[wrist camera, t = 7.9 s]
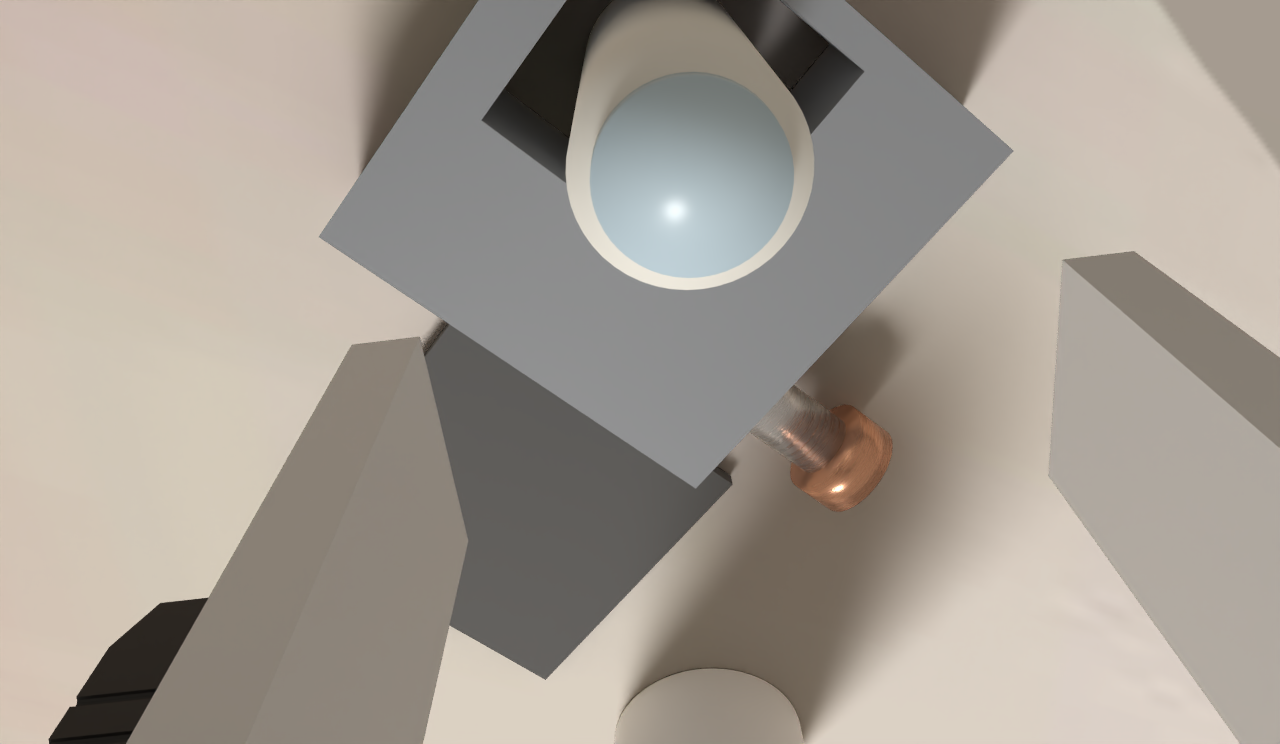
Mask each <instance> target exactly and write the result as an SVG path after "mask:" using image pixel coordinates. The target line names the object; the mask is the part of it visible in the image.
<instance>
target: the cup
mask: <svg viewBox="0 0 1280 744" xmlns="http://www.w3.org/2000/svg"><path fill="white" fill-rule="evenodd" d="M614 744H804V740H803V735H802V731H801V726H800V721H799V718H798V716H797V713H796V711H795V709H794V707H793V706H792V704H791V703H790V701H789V700H788V699H787V698H786V697H785V696H784V695H783V694H782V693H781V692H780V691H779V690H778V689H777V688H775V687H774V686H773V685H771V684H769V683H768V682H766V681H764V680H762V679H760V678H758V677H755V676H753V675H750V674H747V673H743V672H740V671H735V670H728V669H715V668H710V669H696V670H690V671H685V672H681V673H677V674H674V675H671V676H668V677H666V678H663V679H661V680H659V681H657V682H655V683H653V684H652V685H650V686H648V687H647V688H645V689H644V690H643V691H641V692H640V693H639V694H638V695H637V696H636V697H635V698H634V699H633V700H632V701H631V702H630V703H629V704H628V705H627V707H626V708H625V710H624V711H623V713H622V714H621V716H620V718H619V721H618V724H617V726H616V731H615V738H614Z"/></svg>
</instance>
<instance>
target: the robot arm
mask: <svg viewBox="0 0 1280 744" xmlns="http://www.w3.org/2000/svg"><path fill="white" fill-rule="evenodd" d="M1048 476H1049V477H1050V479H1051V480H1052V482H1053V483H1054V484H1055V486H1056V487H1057V489H1058V490H1059V491H1060V493H1061V494H1062V496H1063V497H1064V498H1065V500H1066V501H1067V503H1068V504H1069V505H1070V507H1071V508H1072V510H1073V511H1074V512H1075V514H1076V515H1077V517H1078V518H1079V519H1080V521H1081V522H1082V524H1083V525H1084V526H1085V528H1086V529H1087V531H1088V532H1089V533H1090V535H1091V536H1092V538H1093V539H1094V540H1095V542H1096V543H1097V545H1098V546H1099V547H1100V549H1101V550H1102V552H1103V553H1104V554H1105V556H1106V557H1107V558H1108V560H1109V561H1110V563H1111V564H1112V565H1113V567H1114V568H1115V570H1116V571H1117V572H1118V574H1119V575H1120V577H1121V578H1122V579H1123V581H1124V582H1125V584H1126V585H1127V586H1128V588H1129V589H1130V591H1131V592H1132V593H1133V595H1134V596H1135V598H1136V599H1137V600H1138V602H1139V603H1140V605H1141V606H1142V607H1143V609H1144V610H1145V612H1146V613H1147V614H1148V616H1149V617H1150V619H1151V620H1152V621H1153V623H1154V624H1155V626H1156V627H1157V628H1158V630H1159V631H1160V633H1161V634H1162V635H1163V637H1164V638H1165V640H1166V641H1167V642H1168V644H1169V645H1170V647H1171V648H1172V649H1173V651H1174V652H1175V654H1176V655H1177V656H1178V658H1179V659H1180V661H1181V662H1182V663H1183V665H1184V666H1185V668H1186V669H1187V670H1188V672H1189V673H1190V675H1191V676H1192V677H1193V679H1194V680H1195V681H1196V683H1197V684H1198V686H1199V687H1200V688H1201V690H1202V691H1203V693H1204V694H1205V695H1206V697H1207V698H1208V700H1209V701H1210V702H1211V704H1212V705H1213V707H1214V708H1215V709H1216V711H1217V712H1218V714H1219V715H1220V716H1221V718H1222V719H1223V721H1224V722H1225V723H1226V725H1227V726H1228V728H1229V729H1230V730H1231V732H1232V733H1233V735H1234V736H1235V737H1236V739H1237V740H1238V742H1239V743H1240V744H1280V358H1279V357H1278V356H1277V355H1275V354H1274V353H1273V352H1271V351H1270V350H1269V349H1267V348H1266V347H1264V346H1263V345H1262V344H1260V343H1259V342H1258V341H1256V340H1255V339H1253V338H1252V337H1251V336H1249V335H1248V334H1247V333H1245V332H1244V331H1242V330H1241V329H1240V328H1238V327H1237V326H1236V325H1234V324H1233V323H1232V322H1230V321H1229V320H1227V319H1226V318H1225V317H1223V316H1222V315H1221V314H1219V313H1218V312H1216V311H1215V310H1214V309H1212V308H1211V307H1210V306H1208V305H1207V304H1206V303H1204V302H1203V301H1201V300H1200V299H1199V298H1197V297H1196V296H1195V295H1193V294H1192V293H1190V292H1189V291H1188V290H1186V289H1185V288H1184V287H1182V286H1181V285H1180V284H1178V283H1177V282H1175V281H1174V280H1173V279H1171V278H1170V277H1169V276H1167V275H1166V274H1164V273H1163V272H1162V271H1160V270H1159V269H1158V268H1156V267H1155V266H1154V265H1152V264H1151V263H1149V262H1148V261H1147V260H1145V259H1144V258H1143V257H1141V256H1140V255H1138V254H1137V253H1136V252H1134V251H1132V252H1124V253H1115V254H1107V255H1099V256H1090V257H1082V258H1073V259H1065V260H1062V274H1061V289H1060V305H1059V320H1058V336H1057V351H1056V367H1055V382H1054V398H1053V413H1052V428H1051V444H1050V459H1049V475H1048ZM467 544H468V538H467V534H466V529H465V525H464V521H463V517H462V513H461V508H460V504H459V500H458V496H457V491H456V487H455V483H454V479H453V475H452V470H451V466H450V462H449V458H448V453H447V449H446V445H445V441H444V437H443V432H442V428H441V424H440V420H439V415H438V411H437V407H436V403H435V399H434V394H433V390H432V386H431V382H430V378H429V373H428V369H427V365H426V361H425V356H424V352H423V348H422V344H421V340H420V337H413V338H405V339H396V340H388V341H380V342H371V343H363V344H355V345H351V347H350V349H349V351H348V352H347V354H346V356H345V358H344V359H343V361H342V363H341V365H340V366H339V368H338V370H337V372H336V374H335V375H334V377H333V379H332V381H331V382H330V384H329V386H328V388H327V389H326V391H325V393H324V395H323V396H322V398H321V400H320V402H319V404H318V405H317V407H316V409H315V411H314V412H313V414H312V416H311V418H310V419H309V421H308V423H307V425H306V427H305V428H304V430H303V432H302V434H301V435H300V437H299V439H298V441H297V442H296V444H295V446H294V448H293V450H292V451H291V453H290V455H289V457H288V458H287V460H286V462H285V464H284V465H283V467H282V469H281V471H280V472H279V474H278V476H277V478H276V480H275V481H274V483H273V485H272V487H271V488H270V490H269V492H268V494H267V495H266V497H265V499H264V501H263V503H262V504H261V506H260V508H259V510H258V511H257V513H256V515H255V517H254V518H253V520H252V522H251V524H250V526H249V527H248V529H247V531H246V533H245V534H244V536H243V538H242V540H241V541H240V543H239V545H238V547H237V548H236V550H235V552H234V554H233V556H232V557H231V559H230V561H229V563H228V564H227V566H226V568H225V570H224V571H223V573H222V575H221V577H220V579H219V580H218V582H217V584H216V586H215V587H214V589H213V591H212V593H211V594H210V596H209V598H202V599H193V600H184V601H175V602H166V603H160V604H159V605H158V606H156V607H155V608H154V609H153V610H152V611H151V612H149V613H148V614H147V615H146V616H145V617H144V618H143V619H141V620H140V621H139V622H138V623H137V624H136V625H134V626H133V627H132V628H131V629H130V630H129V631H127V632H126V633H125V634H124V635H123V636H122V637H121V638H119V639H118V640H117V641H116V642H115V643H114V644H112V645H111V646H110V647H109V648H108V650H107V651H106V653H105V654H104V656H103V657H102V659H101V660H100V662H99V664H98V665H97V667H96V668H95V670H94V671H93V673H92V674H91V676H90V677H89V679H88V680H87V682H86V683H85V685H84V686H83V688H82V689H81V691H80V692H79V694H78V695H77V705H76V707H70V708H69V709H68V711H67V712H66V714H65V715H64V717H63V718H62V720H61V721H60V723H59V724H58V726H57V727H56V729H55V730H54V732H53V733H52V735H51V736H50V738H49V744H423V740H424V736H425V731H426V727H427V723H428V718H429V714H430V709H431V705H432V700H433V696H434V691H435V687H436V682H437V678H438V674H439V669H440V665H441V660H442V656H443V651H444V647H445V642H446V638H447V633H448V629H449V625H450V620H451V616H452V611H453V607H454V602H455V598H456V593H457V589H458V584H459V580H460V576H461V571H462V567H463V562H464V558H465V553H466V549H467Z"/></svg>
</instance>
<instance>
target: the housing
mask: <svg viewBox="0 0 1280 744" xmlns="http://www.w3.org/2000/svg"><path fill="white" fill-rule="evenodd" d="M780 1H781V2H783V3H784V4H785V5H786V6H787V7H788V8H789V9H791V10H792V11H793V12H794V13H795V14H796V15H797V16H799V17H800V18H801V19H802V20H803V21H804V22H805V23H807V24H808V25H809V26H810V27H811V28H812V29H814V30H815V31H816V32H817V33H818V34H819V35H820V36H822V37H823V38H824V39H825V40H826V41H827V42H828V43H830V44H829V46H828V47H827V48H826V49H825V50H824V52H823V53H822V54H821V55H820V56H819V58H818V59H817V60H816V61H815V62H814V64H813V65H812V66H811V67H810V69H809V70H808V71H807V72H806V73H805V75H804V76H803V77H802V78H801V79H800V81H799V82H798V83H797V84H796V85H795V87H794V88H793V89H792V90H791V91H790V93H791V94H792V95H793V97H794V98H795V100H796V102H797V103H798V105H799V107H800V109H801V110H802V112H803V115H804V117H805V120H806V122H807V124H808V127H809V131H810V135H811V139H812V143H813V152H814V178H813V184H812V191H811V194H810V197H809V201H808V204H807V207H806V209H805V212H804V214H803V216H802V219H801V221H800V222H799V224H798V226H797V228H796V229H795V231H794V233H793V234H792V235H791V237H790V238H789V239H788V241H787V242H786V243H785V245H784V246H783V247H782V248H781V249H780V250H779V251H778V252H777V253H776V254H775V255H774V256H773V257H772V258H771V259H769V260H768V261H767V262H766V263H764V264H763V265H762V266H761V267H759V268H758V269H756V270H754V271H753V272H751V273H749V274H748V275H746V276H744V277H741V278H739V279H737V280H735V281H733V282H730V283H726V284H723V285H720V286H717V287H711V288H706V289H697V290H677V289H668V288H662V287H657V286H654V285H650V284H647V283H644V282H641V281H639V280H637V279H635V278H633V277H630V276H628V275H627V274H625V273H623V272H622V271H620V270H619V269H617V268H615V267H614V266H613V265H612V264H610V263H609V262H608V261H607V260H606V259H604V258H603V257H602V256H601V255H600V254H599V253H598V252H597V250H596V249H595V248H594V247H593V246H592V245H591V243H590V242H589V241H588V239H587V238H586V236H585V235H584V234H583V232H582V230H581V228H580V226H579V224H578V222H577V221H576V218H575V216H574V213H573V210H572V208H571V205H570V201H569V196H568V192H567V184H566V156H567V150H568V145H569V138H568V137H567V136H565V135H564V134H563V133H561V132H560V131H559V130H557V129H556V128H555V127H553V126H552V125H551V124H549V123H548V122H547V121H546V120H544V119H543V118H542V117H540V116H539V115H538V114H536V113H535V112H534V111H532V110H531V109H530V108H528V107H527V106H526V105H524V104H523V103H522V102H521V101H519V100H518V99H517V98H515V97H514V96H513V95H511V94H510V93H509V92H507V91H506V90H505V89H504V88H505V86H506V85H507V83H508V82H509V80H510V79H511V78H512V76H513V75H514V73H515V72H516V71H517V69H518V68H519V66H520V65H521V64H522V62H523V61H524V59H525V58H526V57H527V55H528V54H529V52H530V51H531V49H532V48H533V47H534V45H535V44H536V42H537V41H538V40H539V38H540V37H541V35H542V34H543V33H544V31H545V30H546V28H547V27H548V26H549V24H550V23H551V21H552V20H553V18H554V17H555V16H556V14H557V13H558V11H559V10H560V9H561V7H562V6H563V4H564V3H565V2H566V0H478V2H477V3H476V5H475V6H474V8H473V9H472V11H471V12H470V14H469V15H468V17H467V18H466V19H465V21H464V22H463V24H462V25H461V27H460V28H459V30H458V31H457V33H456V34H455V36H454V37H453V39H452V40H451V42H450V43H449V45H448V46H447V48H446V49H445V51H444V52H443V54H442V55H441V57H440V58H439V59H438V61H437V62H436V64H435V65H434V67H433V68H432V70H431V71H430V73H429V74H428V76H427V77H426V79H425V80H424V82H423V83H422V85H421V86H420V88H419V89H418V91H417V92H416V94H415V95H414V97H413V98H412V99H411V101H410V102H409V104H408V105H407V107H406V108H405V110H404V111H403V113H402V114H401V116H400V117H399V119H398V120H397V122H396V123H395V125H394V126H393V128H392V129H391V131H390V132H389V134H388V135H387V136H386V138H385V139H384V141H383V142H382V144H381V145H380V147H379V148H378V150H377V151H376V153H375V154H374V156H373V157H372V159H371V160H370V162H369V163H368V165H367V166H366V168H365V169H364V171H363V172H362V174H361V175H360V176H359V178H358V179H357V181H356V182H355V184H354V185H353V187H352V188H351V190H350V191H349V193H348V194H347V196H346V197H345V199H344V200H343V202H342V203H341V205H340V206H339V208H338V209H337V211H336V212H335V214H334V215H333V216H332V218H331V219H330V221H329V222H328V224H327V225H326V227H325V228H324V230H323V231H322V233H321V234H320V236H319V237H320V238H321V239H323V240H324V241H326V242H327V243H329V244H330V245H332V246H333V247H335V248H336V249H338V250H339V251H341V252H342V253H344V254H345V255H346V256H348V257H349V258H351V259H352V260H354V261H355V262H357V263H358V264H360V265H361V266H363V267H364V268H366V269H367V270H369V271H370V272H372V273H373V274H375V275H376V276H378V277H379V278H381V279H382V280H384V281H385V282H387V283H388V284H390V285H391V286H393V287H394V288H396V289H397V290H399V291H400V292H402V293H403V294H405V295H406V296H408V297H409V298H411V299H412V300H414V301H415V302H417V303H418V304H420V305H421V306H423V307H424V308H426V309H427V310H429V311H430V312H432V313H433V314H435V315H436V316H438V317H439V318H441V319H442V320H444V321H445V322H447V323H448V324H450V325H451V326H453V327H454V328H456V329H457V330H459V331H460V332H462V333H463V334H465V335H466V336H468V337H469V338H471V339H472V340H474V341H475V342H477V343H478V344H480V345H481V346H483V347H484V348H486V349H487V350H489V351H490V352H492V353H493V354H495V355H496V356H498V357H499V358H501V359H502V360H504V361H505V362H507V363H508V364H510V365H511V366H513V367H514V368H516V369H517V370H519V371H520V372H522V373H523V374H525V375H526V376H528V377H529V378H531V379H532V380H534V381H535V382H537V383H538V384H540V385H541V386H543V387H544V388H546V389H547V390H549V391H550V392H552V393H553V394H555V395H556V396H558V397H559V398H561V399H562V400H564V401H565V402H567V403H568V404H570V405H571V406H573V407H574V408H576V409H577V410H579V411H580V412H582V413H583V414H585V415H586V416H588V417H589V418H591V419H592V420H594V421H595V422H597V423H598V424H600V425H601V426H603V427H604V428H606V429H607V430H609V431H610V432H612V433H613V434H615V435H616V436H618V437H619V438H621V439H622V440H624V441H625V442H627V443H628V444H630V445H631V446H633V447H634V448H636V449H637V450H639V451H640V452H642V453H643V454H645V455H646V456H648V457H649V458H651V459H652V460H654V461H655V462H657V463H658V464H660V465H661V466H663V467H664V468H666V469H667V470H669V471H670V472H672V473H673V474H675V475H676V476H678V477H679V478H681V479H682V480H684V481H685V482H687V483H688V484H690V485H691V486H693V487H694V488H697V487H698V486H699V485H700V484H701V483H702V481H703V480H704V479H705V478H706V477H707V476H708V475H709V474H710V473H711V472H712V471H713V470H714V469H715V468H716V467H717V466H718V464H719V463H720V462H721V461H722V460H723V459H724V458H725V457H726V456H727V455H728V454H729V453H730V452H731V451H732V450H733V449H734V447H735V446H736V445H737V444H738V443H739V442H740V441H741V440H742V439H743V438H744V437H745V436H746V435H747V434H748V433H749V432H750V430H751V429H752V428H753V427H754V426H755V425H756V424H757V423H758V422H759V421H760V420H761V419H762V418H763V417H764V416H765V415H766V413H767V412H768V411H769V410H770V409H771V408H772V407H773V406H774V405H775V404H776V403H777V402H778V401H779V400H780V399H781V398H782V396H783V395H784V394H785V393H786V392H787V391H788V390H789V389H790V388H791V387H792V386H793V385H794V384H795V383H796V382H797V381H798V379H799V378H800V377H801V376H802V375H803V374H804V373H805V372H806V371H807V370H808V369H809V368H810V367H811V366H812V365H813V364H814V362H815V361H816V360H817V359H818V358H819V357H820V356H821V355H822V354H823V353H824V352H825V351H826V350H827V349H828V348H829V347H830V345H831V344H832V343H833V342H834V341H835V340H836V339H837V338H838V337H839V336H840V335H841V334H842V333H843V332H844V331H845V330H846V328H847V327H848V326H849V325H850V324H851V323H852V322H853V321H854V320H855V319H856V318H857V317H858V316H859V315H860V314H861V313H862V311H863V310H864V309H865V308H866V307H867V306H868V305H869V304H870V303H871V302H872V301H873V300H874V299H875V298H876V297H877V296H878V294H879V293H880V292H881V291H882V290H883V289H884V288H885V287H886V286H887V285H888V284H889V283H890V282H891V281H892V280H893V279H894V277H895V276H896V275H897V274H898V273H899V272H900V271H901V270H902V269H903V268H904V267H905V266H906V265H907V264H908V263H909V262H910V260H911V259H912V258H913V257H914V256H915V255H916V254H917V253H918V252H919V251H920V250H921V249H922V248H923V247H924V246H925V245H926V243H927V242H928V241H929V240H930V239H931V238H932V237H933V236H934V235H935V234H936V233H937V232H938V231H939V230H940V229H941V228H942V226H943V225H944V224H945V223H946V222H947V221H948V220H949V219H950V218H951V217H952V216H953V215H954V214H955V213H956V212H957V211H958V209H959V208H960V207H961V206H962V205H963V204H964V203H965V202H966V201H967V200H968V199H969V198H970V197H971V196H972V195H973V194H974V192H975V191H976V190H977V189H978V188H979V187H980V186H981V185H982V184H983V183H984V182H985V181H986V180H987V179H988V178H989V177H990V175H991V174H992V173H993V172H994V171H995V170H996V169H997V168H998V167H999V166H1000V165H1001V164H1002V163H1003V162H1004V161H1005V160H1006V158H1007V157H1008V156H1009V155H1010V154H1011V153H1012V152H1013V150H1012V149H1011V148H1010V147H1009V146H1008V145H1007V144H1005V143H1004V142H1003V141H1002V140H1001V139H1000V138H999V137H998V136H996V135H995V134H994V133H993V132H992V131H991V130H990V129H989V128H987V127H986V126H985V125H984V124H983V123H982V122H981V121H980V120H979V119H977V118H976V117H975V116H974V115H973V114H972V113H971V112H970V111H968V110H967V109H966V108H965V107H964V106H963V105H962V104H961V103H959V102H958V101H957V100H956V99H955V98H954V97H953V96H952V95H950V94H949V93H948V92H947V91H946V90H945V89H944V88H943V87H942V86H940V85H939V84H938V83H937V82H936V81H935V80H934V79H933V78H931V77H930V76H929V75H928V74H927V73H926V72H925V71H924V70H922V69H921V68H920V67H919V66H918V65H917V64H916V63H915V62H913V61H912V60H911V59H910V58H909V57H908V56H907V55H906V54H905V53H903V52H902V51H901V50H900V49H899V48H898V47H897V46H896V45H894V44H893V43H892V42H891V41H890V40H889V39H888V38H887V37H885V36H884V35H883V34H882V33H881V32H880V31H879V30H878V29H876V28H875V27H874V26H873V25H872V24H871V23H870V22H869V21H867V20H866V19H865V18H864V17H863V16H862V15H861V14H860V13H859V12H857V11H856V10H855V9H854V8H853V7H852V6H851V5H850V4H848V3H847V2H846V1H845V0H780Z"/></svg>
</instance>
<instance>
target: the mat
mask: <svg viewBox="0 0 1280 744" xmlns="http://www.w3.org/2000/svg"><path fill="white" fill-rule="evenodd" d="M424 356H425V361H426V365H427V369H428V373H429V378H430V382H431V386H432V390H433V394H434V399H435V403H436V407H437V411H438V415H439V420H440V424H441V428H442V432H443V437H444V441H445V445H446V449H447V453H448V458H449V462H450V466H451V470H452V475H453V479H454V483H455V487H456V491H457V496H458V500H459V504H460V508H461V513H462V517H463V521H464V525H465V529H466V534H467V538H468V544H467V549H466V553H465V558H464V562H463V567H462V571H461V576H460V580H459V584H458V589H457V593H456V598H455V602H454V607H453V611H452V616H451V620H450V626H452V627H454V628H455V629H457V630H459V631H461V632H462V633H464V634H466V635H468V636H469V637H471V638H473V639H475V640H476V641H478V642H480V643H482V644H484V645H485V646H487V647H489V648H491V649H492V650H494V651H496V652H498V653H499V654H501V655H503V656H505V657H506V658H508V659H510V660H512V661H513V662H515V663H517V664H519V665H520V666H522V667H524V668H526V669H528V670H529V671H531V672H533V673H535V674H536V675H538V676H540V677H542V678H543V679H545V680H546V679H547V678H548V677H549V676H550V674H551V673H552V672H553V671H554V670H555V669H556V668H557V667H558V666H559V665H560V664H561V663H562V662H563V661H564V660H565V659H566V658H567V657H568V656H569V655H570V654H571V653H572V651H573V650H574V649H575V648H576V647H577V646H578V645H579V644H580V643H581V642H582V641H583V640H584V639H585V638H586V637H587V636H588V635H589V634H590V633H591V632H592V631H593V630H594V628H595V627H596V626H597V625H598V624H599V623H600V622H601V621H602V620H603V619H604V618H605V617H606V616H607V615H608V614H609V613H610V612H611V611H612V610H613V609H614V608H615V607H616V606H617V604H618V603H619V602H620V601H621V600H622V599H623V598H624V597H625V596H626V595H627V594H628V593H629V592H630V591H631V590H632V589H633V588H634V587H635V586H636V585H637V584H638V583H639V581H640V580H641V579H642V578H643V577H644V576H645V575H646V574H647V573H648V572H649V571H650V570H651V569H652V568H653V567H654V566H655V565H656V564H657V563H658V562H659V561H660V560H661V558H662V557H663V556H664V555H665V554H666V553H667V552H668V551H669V550H670V549H671V548H672V547H673V546H674V545H675V544H676V543H677V542H678V541H679V540H680V539H681V538H682V537H683V536H684V534H685V533H686V532H687V531H688V530H689V529H690V528H691V527H692V526H693V525H694V524H695V523H696V522H697V521H698V520H699V519H700V518H701V517H702V516H703V515H704V514H705V513H706V511H707V510H708V509H709V508H710V507H711V506H712V505H713V504H714V503H715V502H716V501H717V500H718V499H719V498H720V497H721V496H722V495H723V494H724V493H725V492H726V491H727V490H728V488H729V487H730V486H731V485H732V479H731V476H730V475H729V474H727V473H726V472H724V471H723V470H721V469H720V468H719V467H716V468H715V469H714V470H713V471H712V472H711V473H710V474H709V475H708V476H707V477H706V478H705V479H704V480H703V481H702V483H701V484H700V485H699V486H698V487H697V488H694V487H693V486H691V485H690V484H688V483H687V482H685V481H684V480H682V479H681V478H679V477H678V476H676V475H675V474H673V473H672V472H670V471H669V470H667V469H666V468H664V467H663V466H661V465H660V464H658V463H657V462H655V461H654V460H652V459H651V458H649V457H648V456H646V455H645V454H643V453H642V452H640V451H639V450H637V449H636V448H634V447H633V446H631V445H630V444H628V443H627V442H625V441H624V440H622V439H621V438H619V437H618V436H616V435H615V434H613V433H612V432H610V431H609V430H607V429H606V428H604V427H603V426H601V425H600V424H598V423H597V422H595V421H594V420H592V419H591V418H589V417H588V416H586V415H585V414H583V413H582V412H580V411H579V410H577V409H576V408H574V407H573V406H571V405H570V404H568V403H567V402H565V401H564V400H562V399H561V398H559V397H558V396H556V395H555V394H553V393H552V392H550V391H549V390H547V389H546V388H544V387H543V386H541V385H540V384H538V383H537V382H535V381H534V380H532V379H531V378H529V377H528V376H526V375H525V374H523V373H522V372H520V371H519V370H517V369H516V368H514V367H513V366H511V365H510V364H508V363H507V362H505V361H504V360H502V359H501V358H499V357H498V356H496V355H495V354H493V353H492V352H490V351H489V350H487V349H486V348H484V347H483V346H481V345H480V344H478V343H477V342H475V341H474V340H472V339H471V338H469V337H468V336H466V335H465V334H463V333H462V332H460V331H459V330H457V329H456V328H454V327H453V326H451V325H450V324H447V325H446V326H445V328H444V329H443V330H442V332H441V333H440V334H439V336H438V337H437V338H436V340H435V341H434V342H433V344H432V345H431V346H430V348H429V349H428V350H427V351H426V353H425V354H424Z"/></svg>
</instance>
